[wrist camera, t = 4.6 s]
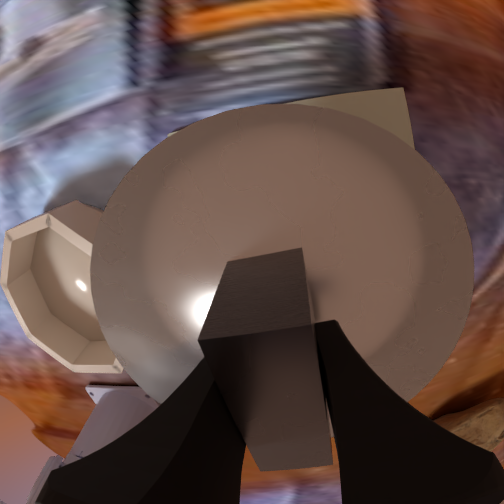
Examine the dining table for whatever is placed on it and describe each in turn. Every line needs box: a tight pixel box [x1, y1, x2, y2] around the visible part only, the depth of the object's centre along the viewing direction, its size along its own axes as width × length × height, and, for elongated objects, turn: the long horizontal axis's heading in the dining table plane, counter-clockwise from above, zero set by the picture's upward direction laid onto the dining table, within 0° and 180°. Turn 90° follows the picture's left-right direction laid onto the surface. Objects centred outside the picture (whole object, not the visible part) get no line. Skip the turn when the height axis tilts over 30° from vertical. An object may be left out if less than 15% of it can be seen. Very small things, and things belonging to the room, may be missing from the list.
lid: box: [90, 104, 474, 471], centre depth 10 cm, size 15×15×5 cm
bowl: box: [0, 200, 124, 373], centre depth 20 cm, size 12×12×4 cm
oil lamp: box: [433, 398, 504, 452], centre depth 22 cm, size 11×15×8 cm
